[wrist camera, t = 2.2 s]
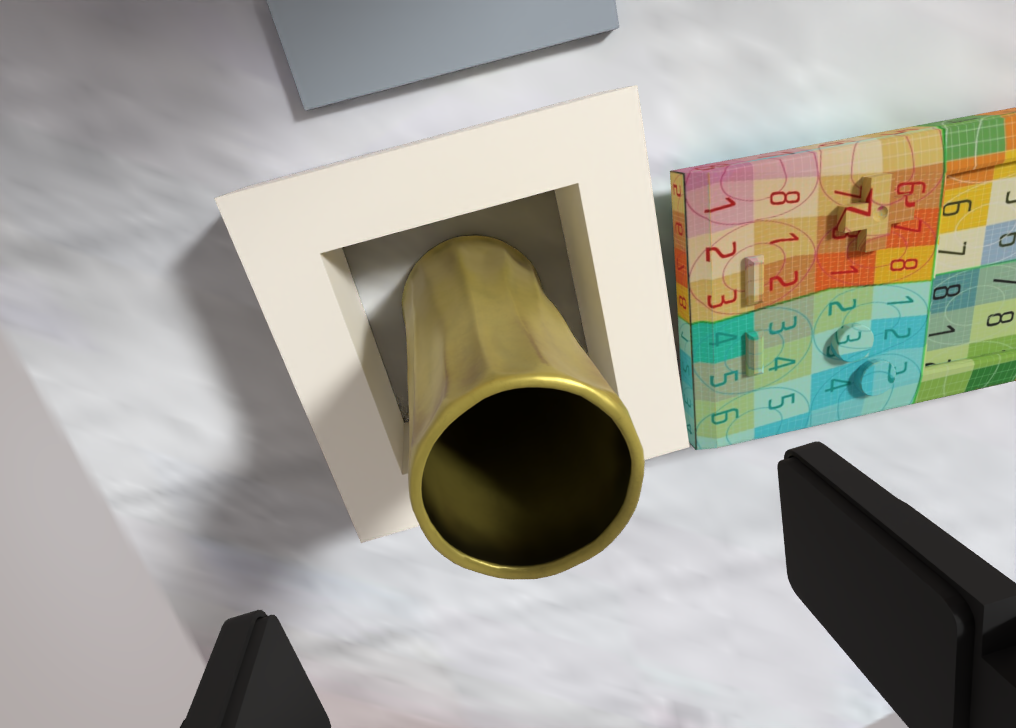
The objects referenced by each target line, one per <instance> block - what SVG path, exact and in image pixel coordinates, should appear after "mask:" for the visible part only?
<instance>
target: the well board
mask: <svg viewBox="0 0 1016 728" xmlns="http://www.w3.org/2000/svg"><path fill="white" fill-rule="evenodd" d="M550 190H555V195H556V200H557V204H558V209H559V214H560V219H561V224H562V229H563V233H564V238H565V243H566V248H567V253H568V258H569V262H570V267H571V272H572V277H573V282H574V286H575V291H576V296H577V301H578V306H579V311H580V315H581V320H582V325H583V330H584V335H585V340H586V344H587V349H588V354H589V358H590V359H591V361H592V362H593V363H594V365H595V366H596V367H597V369H598V370H599V372H600V373H601V375H602V376H603V377H604V379H605V380H606V382H607V383H608V384H609V386H610V387H611V388H612V389H613V391H614V392H615V393H616V394H617V395H618V397H619V398H620V399H621V401H622V402H623V404H624V405H625V407H626V408H627V410H628V412H629V414H630V417H631V420H632V422H633V425H634V427H635V430H636V432H637V435H638V437H639V440H640V442H641V445H642V447H643V451H644V460H647V459H650V458H653V457H657V456H660V455H664V454H667V453H671V452H674V451H677V450H681V449H684V448H688V447H689V440H688V433H687V426H686V419H685V412H684V405H683V398H682V391H681V384H680V377H679V371H678V364H677V357H676V350H675V343H674V336H673V329H672V322H671V315H670V308H669V301H668V294H667V287H666V281H665V274H664V267H663V260H662V253H661V246H660V239H659V232H658V225H657V218H656V211H655V204H654V198H653V191H652V184H651V177H650V170H649V163H648V156H647V149H646V142H645V135H644V128H643V121H642V115H641V108H640V101H639V94H638V87H637V85H635V86H630V87H624V88H619V89H614V90H608V91H603V92H598V93H594V94H590V95H587V96H583V97H579V98H576V99H572V100H568V101H564V102H561V103H557V104H553V105H549V106H546V107H542V108H538V109H534V110H531V111H527V112H523V113H519V114H516V115H512V116H508V117H504V118H501V119H497V120H493V121H489V122H486V123H482V124H478V125H474V126H471V127H467V128H463V129H459V130H456V131H452V132H448V133H445V134H441V135H437V136H433V137H430V138H426V139H422V140H418V141H415V142H411V143H407V144H403V145H400V146H396V147H392V148H388V149H385V150H381V151H377V152H373V153H370V154H366V155H362V156H358V157H355V158H351V159H347V160H343V161H340V162H336V163H332V164H329V165H325V166H321V167H317V168H314V169H310V170H306V171H302V172H299V173H295V174H291V175H287V176H284V177H280V178H276V179H272V180H269V181H265V182H261V183H257V184H254V185H250V186H247V187H244V188H242V189H239V190H236V191H233V192H230V193H228V194H225V195H222V196H219V197H216V198H214V199H215V201H216V204H217V206H218V208H219V211H220V213H221V215H222V218H223V220H224V222H225V225H226V227H227V229H228V232H229V234H230V236H231V239H232V241H233V243H234V246H235V248H236V251H237V253H238V255H239V258H240V260H241V262H242V265H243V267H244V269H245V272H246V274H247V276H248V279H249V281H250V283H251V286H252V288H253V290H254V293H255V295H256V297H257V300H258V302H259V304H260V307H261V309H262V311H263V314H264V316H265V319H266V321H267V323H268V326H269V328H270V330H271V333H272V335H273V337H274V340H275V342H276V344H277V347H278V349H279V351H280V354H281V356H282V358H283V361H284V363H285V365H286V368H287V370H288V372H289V375H290V377H291V379H292V382H293V384H294V387H295V389H296V391H297V394H298V396H299V398H300V401H301V403H302V405H303V408H304V410H305V412H306V415H307V417H308V419H309V422H310V424H311V426H312V429H313V431H314V433H315V436H316V438H317V440H318V443H319V445H320V448H321V450H322V452H323V455H324V457H325V459H326V462H327V464H328V466H329V469H330V471H331V473H332V476H333V478H334V480H335V483H336V485H337V487H338V490H339V492H340V494H341V497H342V499H343V501H344V504H345V506H346V508H347V511H348V513H349V516H350V518H351V520H352V523H353V525H354V527H355V530H356V532H357V534H358V537H359V539H360V541H361V543H363V542H366V541H370V540H373V539H376V538H380V537H383V536H387V535H390V534H393V533H397V532H400V531H404V530H407V529H411V528H414V527H417V526H420V525H419V523H418V521H417V519H416V517H415V514H414V512H413V510H412V506H411V502H410V498H409V487H408V467H409V422H406V423H404V421H403V418H402V415H401V412H400V409H399V407H398V404H397V401H396V398H395V395H394V393H393V390H392V387H391V384H390V381H389V379H388V376H387V373H386V370H385V367H384V364H383V362H382V359H381V356H380V353H379V350H378V348H377V345H376V342H375V339H374V336H373V334H372V331H371V328H370V325H369V322H368V319H367V317H366V314H365V311H364V308H363V305H362V303H361V300H360V297H359V294H358V291H357V289H356V286H355V283H354V280H353V277H352V275H351V272H350V269H349V266H348V263H347V260H346V258H345V255H344V252H343V249H342V247H345V246H349V245H352V244H356V243H360V242H363V241H367V240H371V239H374V238H378V237H382V236H385V235H389V234H393V233H396V232H400V231H404V230H407V229H411V228H415V227H418V226H422V225H426V224H429V223H433V222H437V221H440V220H444V219H448V218H451V217H455V216H459V215H462V214H466V213H470V212H473V211H477V210H481V209H484V208H488V207H492V206H495V205H499V204H503V203H506V202H510V201H514V200H517V199H521V198H525V197H528V196H532V195H536V194H539V193H543V192H547V191H550Z"/></svg>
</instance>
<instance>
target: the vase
mask: <svg viewBox="0 0 1016 728" xmlns="http://www.w3.org/2000/svg"><path fill="white" fill-rule="evenodd" d="M402 314H403V319H404V323H405V326H406V340H407V364H408V367H407V382H408V402H409V467H408V487H409V498H410V502H411V506H412V510H413V512H414V514H415V517H416V519H417V521H418V523H419V525H420V527H421V529H422V531H423V533H424V534H425V536H426V538H427V539H428V541H429V542H430V543H431V545H432V546H433V547H434V548H435V549H436V550H437V551H438V552H439V553H441V554H442V555H443V556H444V557H446V558H447V559H449V560H450V561H452V562H453V563H455V564H457V565H459V566H461V567H463V568H466V569H469V570H472V571H475V572H478V573H482V574H485V575H488V576H493V577H497V578H503V579H538V578H543V577H548V576H552V575H556V574H558V573H561V572H563V571H566V570H568V569H570V568H572V567H574V566H576V565H578V564H581V563H583V562H585V561H587V560H589V559H590V558H592V557H594V556H595V555H597V554H598V553H600V552H601V551H603V550H604V549H605V548H606V547H607V546H608V545H609V544H611V543H612V542H613V541H614V539H615V538H616V537H617V536H618V535H619V534H620V533H621V531H622V530H623V529H624V527H625V526H626V525H627V523H628V522H629V520H630V518H631V517H632V515H633V513H634V511H635V509H636V506H637V503H638V501H639V497H640V492H641V487H642V482H643V477H644V463H645V461H644V451H643V447H642V445H641V442H640V440H639V437H638V435H637V432H636V430H635V427H634V425H633V422H632V420H631V417H630V414H629V412H628V410H627V408H626V407H625V405H624V404H623V402H622V401H621V399H620V398H619V397H618V395H617V394H616V393H615V392H614V391H613V389H612V388H611V387H610V386H609V384H608V383H607V382H606V380H605V379H604V377H603V376H602V375H601V373H600V372H599V370H598V369H597V367H596V366H595V365H594V363H593V362H592V361H591V359H590V358H589V357H588V355H587V354H586V353H585V351H584V350H583V349H582V348H581V346H580V345H579V344H578V342H577V340H576V339H575V337H574V336H573V334H572V333H571V331H570V329H569V327H568V325H567V324H566V322H565V320H564V319H563V317H562V316H561V314H560V313H559V311H558V310H557V309H556V307H555V306H554V305H553V303H552V302H551V301H550V300H549V299H548V298H547V297H546V296H545V294H544V291H543V288H542V285H541V282H540V279H539V277H538V274H537V272H536V270H535V268H534V267H533V265H532V263H531V262H530V261H529V260H528V259H527V258H526V257H525V256H524V255H523V254H522V253H521V252H519V251H518V250H517V249H515V248H514V247H512V246H510V245H508V244H507V243H505V242H503V241H501V240H498V239H496V238H492V237H486V236H472V235H471V236H460V237H455V238H452V239H449V240H447V241H445V242H442V243H440V244H439V245H437V246H435V247H434V248H432V249H431V250H429V251H428V252H427V253H426V254H425V255H423V256H422V257H421V258H420V259H419V261H418V262H417V263H416V264H415V266H414V267H413V269H412V270H411V272H410V274H409V276H408V279H407V281H406V284H405V287H404V291H403V295H402Z"/></svg>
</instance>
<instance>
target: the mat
mask: <svg viewBox="0 0 1016 728" xmlns="http://www.w3.org/2000/svg"><path fill="white" fill-rule="evenodd" d="M266 1H267V3H268V6H269V9H270V12H271V15H272V18H273V21H274V24H275V26H276V29H277V32H278V35H279V38H280V41H281V44H282V46H283V49H284V52H285V55H286V58H287V61H288V64H289V67H290V69H291V72H292V75H293V78H294V81H295V84H296V87H297V90H298V92H299V95H300V98H301V101H302V104H303V107H304V110H311V109H315V108H319V107H323V106H326V105H330V104H334V103H338V102H342V101H345V100H349V99H353V98H357V97H361V96H364V95H368V94H372V93H376V92H380V91H383V90H387V89H391V88H395V87H399V86H402V85H406V84H410V83H414V82H418V81H421V80H425V79H429V78H433V77H436V76H440V75H444V74H448V73H452V72H455V71H459V70H463V69H467V68H471V67H474V66H478V65H482V64H486V63H490V62H493V61H497V60H501V59H505V58H509V57H512V56H516V55H520V54H524V53H528V52H531V51H535V50H539V49H543V48H547V47H550V46H554V45H558V44H562V43H566V42H569V41H573V40H577V39H581V38H585V37H588V36H592V35H596V34H600V33H604V32H607V31H611V30H615V29H617V28H619V22H618V15H617V9H616V2H615V0H266Z"/></svg>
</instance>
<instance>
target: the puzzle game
mask: <svg viewBox="0 0 1016 728" xmlns="http://www.w3.org/2000/svg"><path fill="white" fill-rule="evenodd" d="M670 180H671V198H672V217H673V236H674V254H675V273H676V292H677V311H678V329H679V348H680V367H681V385H682V398H683V405H684V412H685V419H686V426H687V433H688V440H689V443H690V444H691V445H692V446H693V447H694V449H695V450H699V449H711V448H719V447H724V446H728V445H733V444H737V443H741V442H746V441H750V440H755V439H759V438H764V437H768V436H773V435H777V434H781V433H786V432H790V431H795V430H799V429H804V428H808V427H813V426H817V425H821V424H826V423H830V422H835V421H839V420H844V419H848V418H853V417H857V416H861V415H866V414H870V413H875V412H879V411H884V410H888V409H892V408H897V407H901V406H906V405H910V404H915V403H919V402H924V401H928V400H932V399H937V398H941V397H946V396H950V395H955V394H959V393H964V392H968V391H972V390H977V389H981V388H986V387H990V386H995V385H999V384H1004V383H1008V382H1012V381H1016V108H1010V109H1005V110H1000V111H994V112H989V113H983V114H978V115H972V116H967V117H961V118H956V119H950V120H945V121H940V122H934V123H929V124H923V125H918V126H912V127H907V128H901V129H896V130H891V131H885V132H880V133H874V134H869V135H863V136H858V137H852V138H847V139H841V140H836V141H831V142H825V143H820V144H814V145H809V146H803V147H798V148H792V149H787V150H782V151H776V152H771V153H765V154H760V155H754V156H749V157H743V158H738V159H732V160H727V161H722V162H716V163H711V164H705V165H700V166H694V167H689V168H683V169H678V170H673V171H670Z"/></svg>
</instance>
